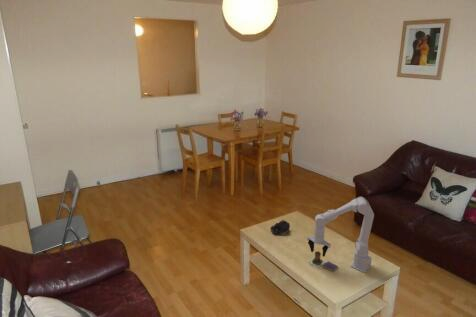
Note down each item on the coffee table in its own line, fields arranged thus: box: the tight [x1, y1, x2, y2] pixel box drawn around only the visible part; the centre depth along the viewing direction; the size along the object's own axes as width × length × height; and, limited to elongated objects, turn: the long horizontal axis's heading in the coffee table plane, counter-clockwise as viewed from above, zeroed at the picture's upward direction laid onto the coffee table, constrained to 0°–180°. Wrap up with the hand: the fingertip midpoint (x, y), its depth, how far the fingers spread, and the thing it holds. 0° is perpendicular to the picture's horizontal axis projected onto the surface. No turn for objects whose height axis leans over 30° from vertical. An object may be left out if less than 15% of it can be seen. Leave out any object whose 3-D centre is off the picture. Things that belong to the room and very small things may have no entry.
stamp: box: [312, 251, 323, 266], centre depth 209 cm, size 4×4×7 cm
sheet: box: [306, 256, 328, 270], centre depth 210 cm, size 9×9×1 cm
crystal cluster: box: [270, 219, 291, 237], centre depth 244 cm, size 13×14×10 cm
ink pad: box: [322, 260, 339, 273], centre depth 205 cm, size 7×6×1 cm
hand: (318, 253), depth 208 cm, fingers open, 7 cm apart
